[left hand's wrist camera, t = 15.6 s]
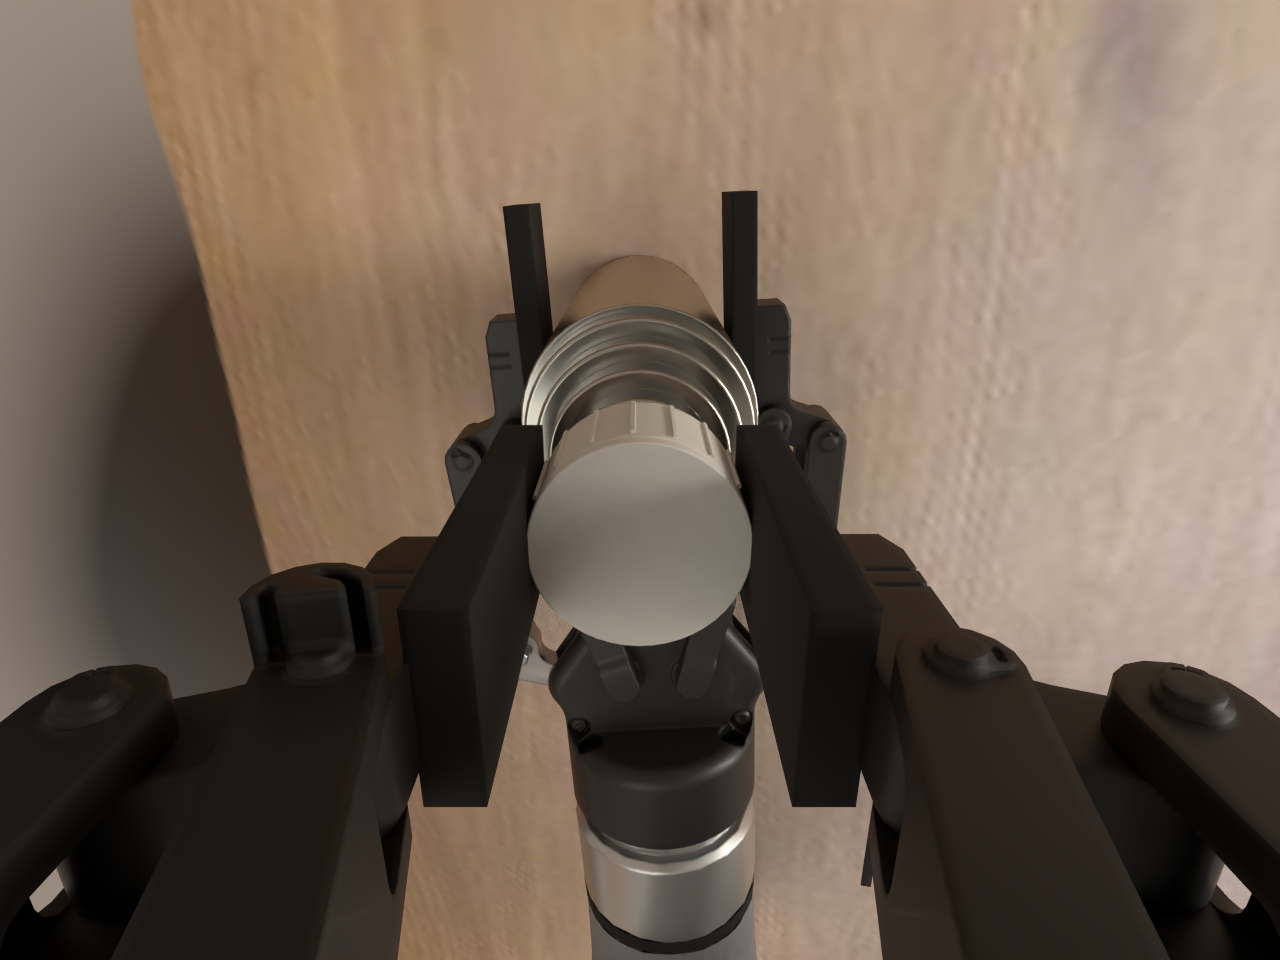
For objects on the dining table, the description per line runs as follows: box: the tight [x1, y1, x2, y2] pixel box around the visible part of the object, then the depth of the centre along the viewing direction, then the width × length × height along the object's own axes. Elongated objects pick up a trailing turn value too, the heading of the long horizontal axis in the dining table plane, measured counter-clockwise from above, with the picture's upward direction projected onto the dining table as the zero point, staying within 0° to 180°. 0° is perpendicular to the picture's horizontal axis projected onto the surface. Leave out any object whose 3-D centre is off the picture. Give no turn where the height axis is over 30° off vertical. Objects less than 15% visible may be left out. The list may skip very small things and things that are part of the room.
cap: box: [527, 401, 752, 646], centre depth 13 cm, size 4×4×2 cm
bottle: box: [521, 255, 758, 465], centre depth 22 cm, size 6×6×20 cm
